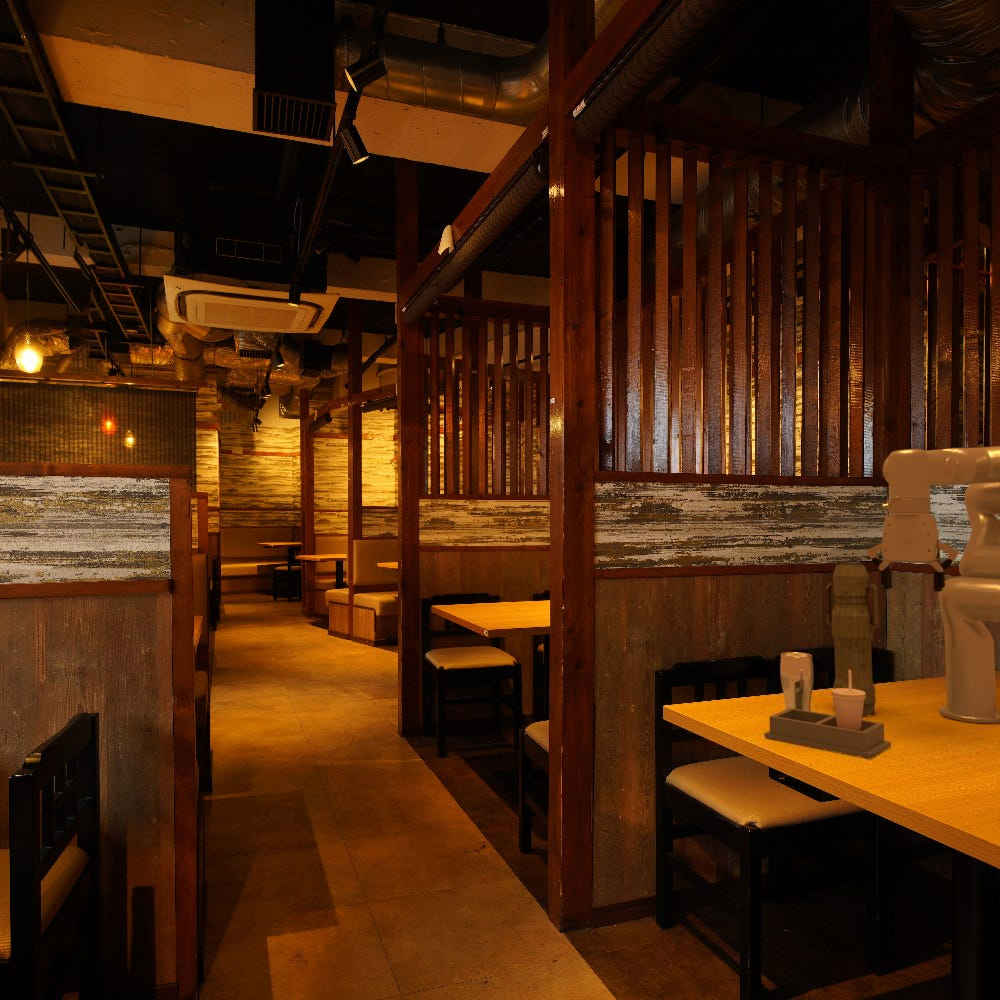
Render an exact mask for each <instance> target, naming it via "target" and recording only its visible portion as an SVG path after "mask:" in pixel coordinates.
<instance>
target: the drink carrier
mask: <svg viewBox="0 0 1000 1000" xmlns="http://www.w3.org/2000/svg"><path fill="white" fill-rule="evenodd" d="M763 734H764V736H763V737H766V738H765V739H767V738H771V739H770V740H772V739H776V740H775V741H777V740H780V741H779V742H782V741H784V742H783V743H787V742H789V743H788V744H792V743H794V744H793V745H797V744H799V746H802V745H804V746H803V747H807V746H810V747H809V748H812V747H815V748H814V749H817V748H821V749H820V750H822V749H826V750H825V751H827V750H831V751H830V752H832V751H836V752H835V753H837V752H841V753H840V754H842V753H845V754H844V755H847V754H851V755H850V756H852V755H855V756H854V757H857V756H861V757H860V758H862V757H865V758H864V759H867V758H870V759H869V760H872V759H873V758H872V757H874V756H875V757H877V756H878V755H879V753H880V752H882V751H883V750H885V749H886V750H887V748H888V747H889V748H891V747H890V746H892V745H891V744H892V742H891V741H890V740H885V723H883V722H877V721H870V720H867V719H866V720H865V719H862V723H861V731H856V730H850V729H844V728H839V727H837V722H836V715H835V714H829V713H822V712H817V711H812V710H811V711H806V710H800V709H794V708H789V709H787V710H785V709H784V710H782V711H780V712H776V713H775V714H771V715H770V716H769V730H767V732H764V733H763ZM889 748H888V749H889ZM886 750H885V751H886ZM883 752H884V751H883ZM883 752H882V753H883ZM877 754H878V755H877ZM880 754H881V753H880ZM876 755H877V756H876ZM875 757H874V758H875ZM871 758H872V759H871Z"/></svg>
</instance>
